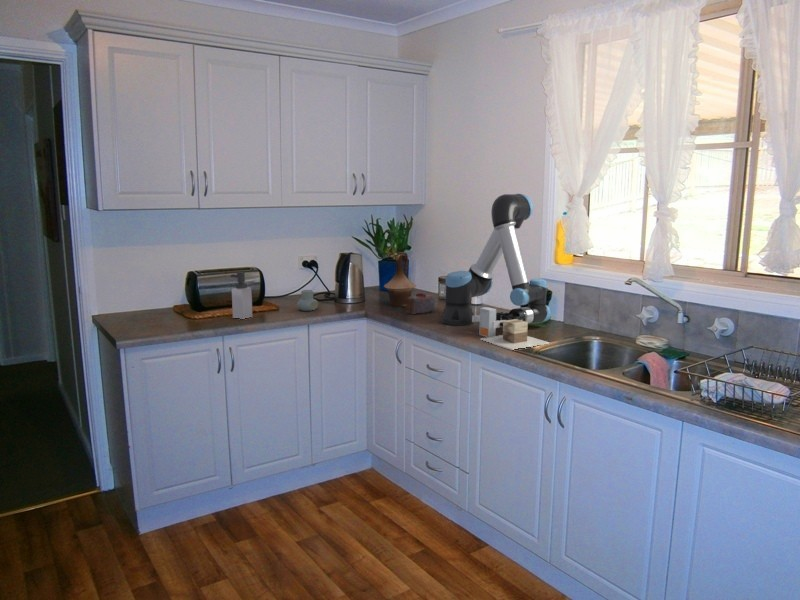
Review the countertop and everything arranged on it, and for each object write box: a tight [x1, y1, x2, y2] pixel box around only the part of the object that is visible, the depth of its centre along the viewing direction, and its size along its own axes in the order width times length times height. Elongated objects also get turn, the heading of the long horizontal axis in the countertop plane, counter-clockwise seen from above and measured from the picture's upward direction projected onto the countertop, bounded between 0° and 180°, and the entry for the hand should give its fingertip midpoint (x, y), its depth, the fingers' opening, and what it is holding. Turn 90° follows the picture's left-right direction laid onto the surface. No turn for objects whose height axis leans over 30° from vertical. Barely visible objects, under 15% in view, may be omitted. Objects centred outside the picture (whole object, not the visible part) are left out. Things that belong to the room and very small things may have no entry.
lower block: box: [502, 330, 528, 343], centre depth 262 cm, size 7×7×4 cm
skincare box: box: [478, 306, 497, 338], centre depth 271 cm, size 6×4×12 cm
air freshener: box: [296, 289, 319, 312], centre depth 325 cm, size 11×8×10 cm
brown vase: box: [383, 251, 417, 307], centre depth 337 cm, size 18×17×28 cm
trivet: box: [480, 334, 550, 351], centre depth 262 cm, size 20×20×1 cm
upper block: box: [502, 319, 529, 334], centre depth 261 cm, size 7×7×4 cm
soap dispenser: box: [230, 271, 253, 320], centre depth 305 cm, size 6×9×22 cm
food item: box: [406, 292, 436, 315], centre depth 320 cm, size 14×8×10 cm, turn 128°
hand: (482, 321), depth 270 cm, fingers open, 13 cm apart
